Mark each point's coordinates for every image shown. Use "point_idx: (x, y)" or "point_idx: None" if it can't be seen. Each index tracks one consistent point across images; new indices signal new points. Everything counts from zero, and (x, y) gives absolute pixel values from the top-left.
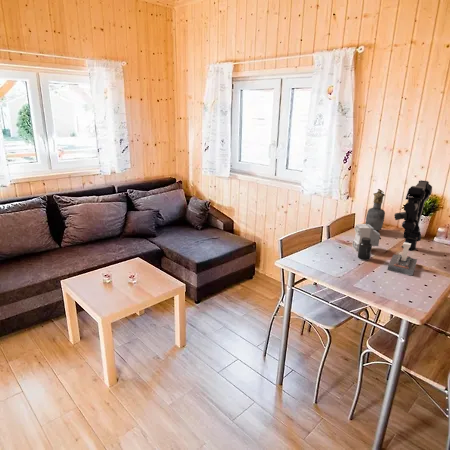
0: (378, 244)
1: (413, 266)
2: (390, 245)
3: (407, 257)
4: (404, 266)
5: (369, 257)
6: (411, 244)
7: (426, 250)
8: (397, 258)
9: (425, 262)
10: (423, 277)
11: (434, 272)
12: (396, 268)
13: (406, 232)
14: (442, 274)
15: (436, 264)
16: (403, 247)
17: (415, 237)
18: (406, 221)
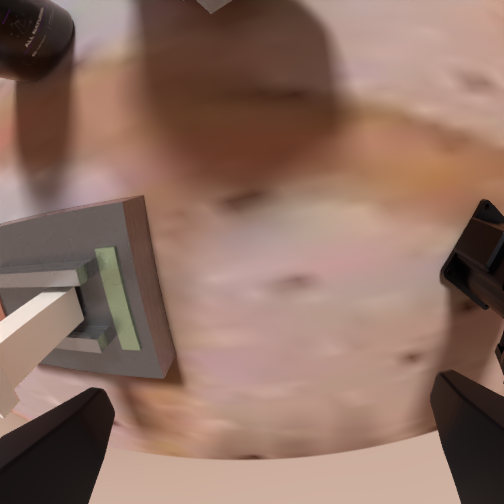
0: (208, 5)
1: (44, 358)
2: (466, 109)
3: (143, 318)
4: (4, 316)
5: (19, 80)
6: (482, 288)
7: (484, 350)
8: (65, 255)
9: (260, 394)
10: (54, 382)
11: (145, 426)
12: None
13: (11, 460)
14: (154, 447)
15: (271, 434)
16: (474, 214)
17: (502, 360)
18: None
